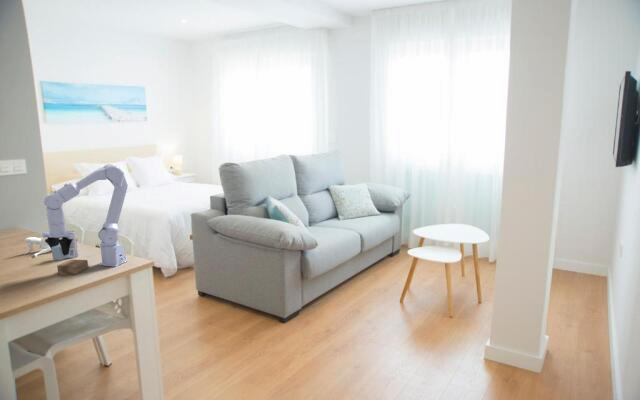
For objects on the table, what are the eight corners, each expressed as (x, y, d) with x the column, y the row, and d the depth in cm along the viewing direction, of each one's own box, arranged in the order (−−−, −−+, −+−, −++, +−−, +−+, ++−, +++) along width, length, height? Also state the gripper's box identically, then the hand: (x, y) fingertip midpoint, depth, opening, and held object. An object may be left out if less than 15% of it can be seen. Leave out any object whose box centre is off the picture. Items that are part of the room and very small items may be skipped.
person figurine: (24, 236, 200) (64, 222, 213) (17, 237, 208) (55, 224, 221) (36, 261, 202) (74, 246, 215) (28, 262, 211) (66, 247, 224)
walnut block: (88, 268, 186) (87, 260, 186) (75, 275, 179) (74, 266, 178) (72, 268, 188) (70, 259, 187) (58, 274, 180) (57, 265, 179)
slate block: (70, 256, 181) (68, 244, 180) (61, 259, 177) (59, 248, 176) (61, 255, 182) (60, 244, 181) (52, 259, 178) (51, 247, 177)
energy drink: (68, 255, 205) (65, 231, 203) (80, 254, 205) (77, 230, 203) (63, 258, 200) (59, 234, 198) (75, 258, 200) (71, 233, 198)
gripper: (34, 224, 175) (39, 256, 177) (62, 226, 171) (67, 258, 173) (48, 220, 181) (53, 251, 184) (76, 221, 177) (81, 253, 180)
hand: (61, 254), depth 179 cm, fingers closed on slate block, 4 cm apart
